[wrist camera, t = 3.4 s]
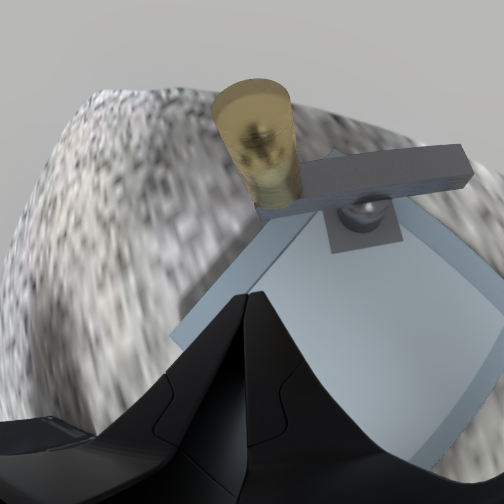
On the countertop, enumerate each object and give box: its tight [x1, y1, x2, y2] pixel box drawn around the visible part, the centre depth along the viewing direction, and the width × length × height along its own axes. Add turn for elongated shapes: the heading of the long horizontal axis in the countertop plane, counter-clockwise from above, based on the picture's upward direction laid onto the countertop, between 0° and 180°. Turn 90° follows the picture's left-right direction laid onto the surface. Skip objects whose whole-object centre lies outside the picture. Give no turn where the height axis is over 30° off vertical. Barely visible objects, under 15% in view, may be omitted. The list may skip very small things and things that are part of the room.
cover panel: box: [169, 148, 504, 471], centre depth 16 cm, size 16×18×2 cm
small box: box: [0, 416, 96, 456], centre depth 13 cm, size 11×6×10 cm, turn 177°
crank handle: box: [211, 79, 474, 233], centre depth 12 cm, size 3×11×10 cm, turn 97°
